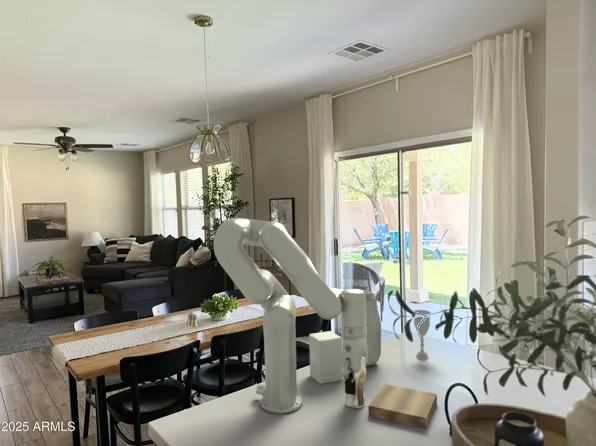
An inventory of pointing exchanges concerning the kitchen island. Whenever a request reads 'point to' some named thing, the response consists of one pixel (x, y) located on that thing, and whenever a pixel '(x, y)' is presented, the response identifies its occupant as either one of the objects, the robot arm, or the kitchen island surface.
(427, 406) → the walnut board
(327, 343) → the supplement box
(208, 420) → the kitchen island surface
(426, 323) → the chalice
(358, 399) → the beer glass
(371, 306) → the grey bottle
